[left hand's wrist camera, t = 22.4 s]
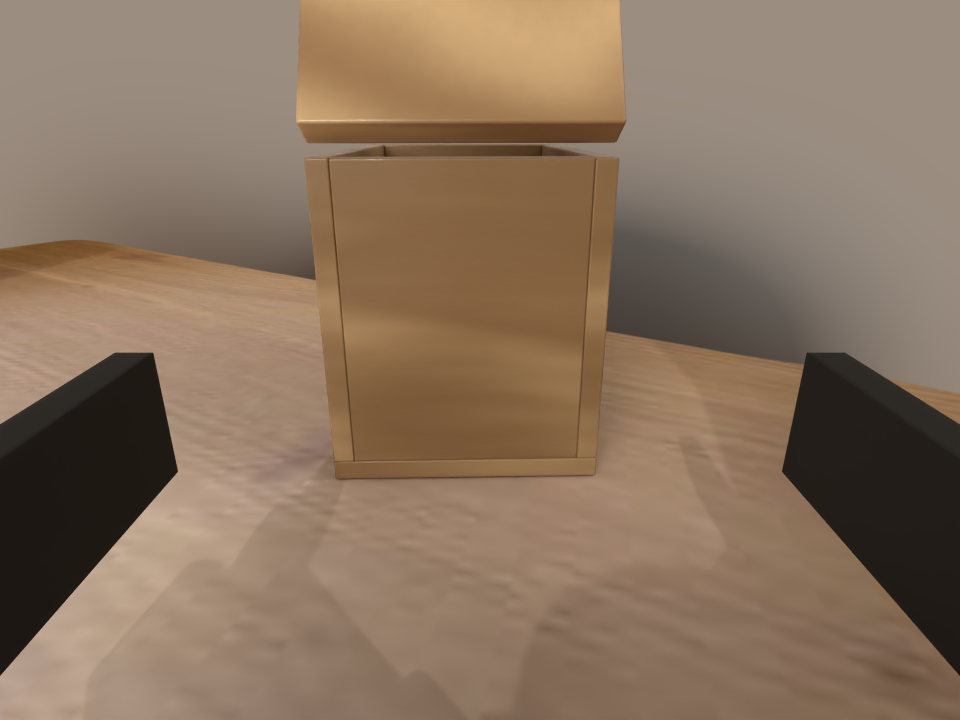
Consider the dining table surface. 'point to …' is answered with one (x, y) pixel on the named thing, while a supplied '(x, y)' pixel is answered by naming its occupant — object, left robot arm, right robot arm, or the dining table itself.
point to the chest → (463, 306)
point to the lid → (460, 71)
